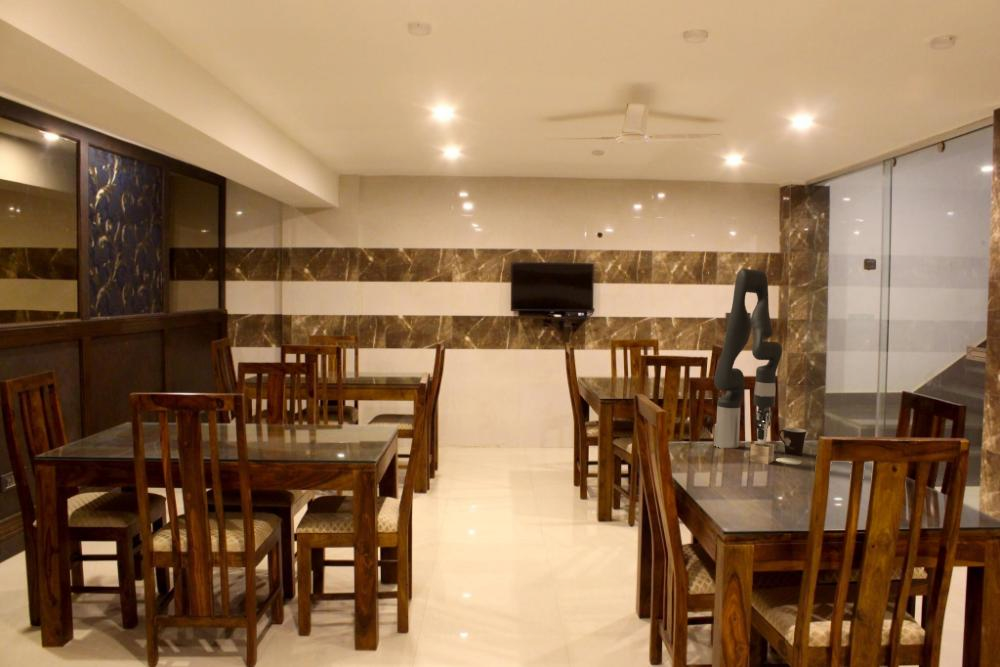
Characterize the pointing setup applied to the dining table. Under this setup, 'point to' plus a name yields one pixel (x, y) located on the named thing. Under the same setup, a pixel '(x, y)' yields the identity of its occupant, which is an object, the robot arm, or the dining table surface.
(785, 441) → the coffee mug
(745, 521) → the dining table surface
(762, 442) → the rod
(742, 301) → the robot arm
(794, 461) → the saucer
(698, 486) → the dining table surface
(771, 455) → the holder
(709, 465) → the dining table surface
